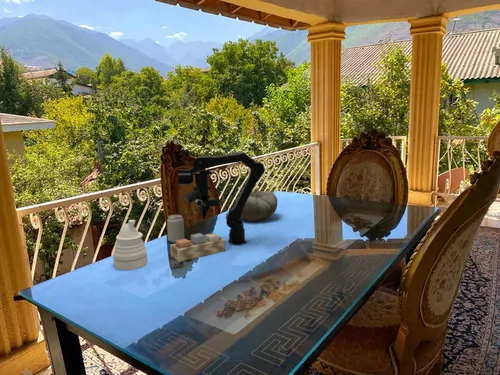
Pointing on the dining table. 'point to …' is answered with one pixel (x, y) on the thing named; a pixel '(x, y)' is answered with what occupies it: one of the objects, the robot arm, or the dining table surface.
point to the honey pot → (129, 248)
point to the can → (175, 228)
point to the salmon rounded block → (182, 243)
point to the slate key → (197, 239)
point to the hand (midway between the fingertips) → (203, 218)
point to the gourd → (259, 205)
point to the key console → (197, 250)
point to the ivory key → (211, 237)
